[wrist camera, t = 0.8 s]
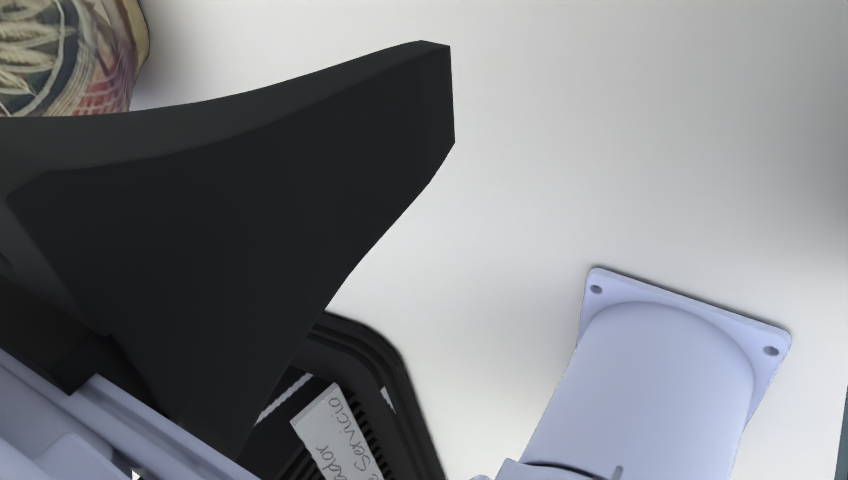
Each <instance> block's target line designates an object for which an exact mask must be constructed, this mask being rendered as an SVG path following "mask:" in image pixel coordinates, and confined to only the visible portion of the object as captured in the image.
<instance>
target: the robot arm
mask: <svg viewBox="0 0 848 480" xmlns="http://www.w3.org/2000/svg"><path fill="white" fill-rule="evenodd" d="M454 143H455V132H454V112H453V93H452V73H451V53H450V46H448V45H443V44H438V43H433V42H428V41H423V40H419V41H414V42H409V43H404V44H400V45H397V46H393V47H390V48H386V49H383V50H380V51H377V52H374V53H371V54H368V55H365V56H362V57H359V58H356V59H353V60H350V61H347V62H344V63H341V64H338V65H335V66H332V67H329V68H326V69H323V70H320V71H317V72H313V73H310V74H307V75H303V76H300V77H297V78H293V79H290V80H287V81H283V82H280V83H277V84H273V85H270V86H267V87H263V88H259V89H256V90H252V91H248V92H243V93H239V94H235V95H230V96H225V97H221V98H216V99H211V100H206V101H201V102H196V103H189V104H182V105H175V106H168V107H161V108H154V109H147V110H140V111H130V112H119V113H108V114H93V115H77V116H36V117H0V480H132V470H133V471H134V472H135V473H137V474H138V475H139V476H141V477H142V478H143V479H145V480H261V479H259V478H258V477H256V476H255V475H253V474H251V473H250V472H248V471H247V470H245V469H244V468H242V467H241V466H239V465H238V464H236V463H235V461H236V460H237V458H238V456H239V454H240V452H241V450H242V448H243V446H244V444H245V442H246V440H247V438H248V436H249V435H250V433H251V431H252V429H253V427H254V425H255V423H256V422H257V420H258V418H259V416H260V414H261V412H262V411H263V409H264V407H265V405H266V403H267V401H268V399H269V398H270V396H271V394H272V392H273V391H274V389H275V387H276V386H277V384H278V382H279V381H280V379H281V377H282V376H283V374H284V372H285V371H286V369H287V367H288V366H289V364H290V362H291V361H292V359H293V357H294V356H295V354H296V352H297V351H298V349H299V348H300V346H301V344H302V343H303V341H304V340H305V338H306V337H307V335H308V334H309V332H310V331H311V329H312V328H313V326H314V325H315V323H316V321H317V320H318V318H319V317H320V315H321V314H322V312H323V311H324V309H325V308H326V307H327V305H328V304H329V302H330V301H331V299H332V298H333V297H334V295H335V294H336V292H337V291H338V290H339V288H340V287H341V285H342V284H343V282H344V281H345V280H346V278H347V277H348V275H349V274H350V273H351V272H352V271H353V269H354V268H355V267H356V266H357V264H358V263H359V262H360V261H361V259H362V258H363V257H364V256H365V255H366V254H367V253H368V252H369V250H370V249H371V248H372V247H373V246H374V245H375V244H376V243H377V242H378V240H379V239H380V238H381V237H382V236H383V235H384V234H385V233H386V231H387V230H388V229H389V228H390V227H391V226H392V225H393V224H394V223H395V221H396V220H397V219H398V218H399V217H400V216H401V215H402V214H403V212H404V211H405V210H406V209H407V208H408V207H409V206H410V205H411V203H412V202H413V201H414V200H415V199H416V198H417V196H418V195H419V194H420V193H421V192H422V191H423V190H424V188H425V187H426V186H427V185H428V184H429V182H430V181H431V180H432V178H433V177H434V175H435V174H436V172H437V171H438V169H439V168H440V166H441V165H442V163H443V161H444V160H445V158H446V157H447V155H448V153H449V152H450V150H451V148H452V147H453V145H454ZM595 285H597V286H599V287H600V288H599V287H597V286H595ZM791 340H792V338H791V336H790V334H789V333H787V332H786V331H784V330H782V329H780V328H777V327H774V326H771V325H768V324H765V323H762V322H759V321H756V320H753V319H750V318H747V317H744V316H741V315H738V314H735V313H732V312H729V311H726V310H723V309H720V308H717V307H715V306H712V305H709V304H706V303H703V302H700V301H697V300H694V299H691V298H688V297H685V296H682V295H679V294H676V293H673V292H670V291H667V290H664V289H661V288H658V287H655V286H652V285H649V284H646V283H643V282H640V281H637V280H634V279H631V278H628V277H625V276H622V275H619V274H616V273H613V272H611V271H608V270H605V269H601V268H593V269H591V270H590V272H589V274H588V276H587V279H586V285H585V292H584V298H583V305H582V311H581V318H580V324H579V331H578V338H577V344H576V350H575V352H574V354H573V356H572V358H571V360H570V362H569V364H568V366H567V368H566V370H565V372H564V374H563V376H562V378H561V380H560V382H559V384H558V386H557V388H556V390H555V392H554V394H553V395H552V397H551V399H550V401H549V403H548V405H547V407H546V409H545V411H544V413H543V415H542V417H541V419H540V421H539V423H538V425H537V427H536V429H535V431H534V433H533V435H532V437H531V439H530V441H529V443H528V444H527V446H526V448H525V450H524V452H523V454H522V456H521V458H520V460H519V462H516V461H514V460H512V459H509V458H506V459H505V461H504V463H503V465H502V467H501V468H500V470H499V472H498V474H497V476H496V478H495V480H730V477H731V473H732V470H733V466H734V462H735V458H736V454H737V450H738V446H739V442H740V438H741V435H742V432H743V431H744V429H745V427H746V425H747V424H748V422H749V420H750V418H751V416H752V415H753V413H754V411H755V409H756V407H757V406H758V404H759V402H760V400H761V398H762V397H763V395H764V393H765V391H766V389H767V388H768V386H769V384H770V382H771V381H772V379H773V377H774V375H775V373H776V372H777V370H778V368H779V366H780V364H781V363H782V361H783V359H784V357H785V355H786V354H787V352H788V350H789V348H790V345H791ZM768 346H770V347H774V348H776V349H774V348H770V347H768ZM470 480H492V479H491V478H489V477H487V476H485V475H478V476H475V477H473V478H471V479H470ZM847 480H848V474H847Z"/></svg>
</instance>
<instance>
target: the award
mask: <svg viewBox="0 0 848 480" xmlns="http://www.w3.org/2000/svg"><path fill="white" fill-rule="evenodd" d="M235 463H236V464H238V465H239V466H241V467H242V468H244V469H245V470H247V471H248V472H250V473H251V474H253V475H255V476H256V477H258V478H259V479H261V480H445V479H444V476H443V474H442V471H441V468H440V465H439V463H438V460H437V457H436V455H435V452H434V449H433V446H432V444H431V441H430V438H429V436H428V433H427V430H426V427H425V425H424V422H423V419H422V417H421V414H420V411H419V408H418V406H417V403H416V400H415V398H414V395H413V392H412V389H411V387H410V384H409V381H408V379H407V376H406V373H405V370H404V368H403V365H402V362H401V361H400V359H399V358H398V356H397V355H396V353H395V352H394V351H393V350H392V349H391V348H390V347H389V346H388V345H387V344H386V343H385V342H384V341H383V340H382V339H381V338H380V337H378V336H377V335H375V334H374V333H372V332H371V331H369V330H367V329H366V328H364V327H362V326H359V325H356V324H354V323H351V322H348V321H345V320H342V319H339V318H336V317H333V316H331V315H328V314H325V313H322V314H321V315H320V317H319V318H318V320H317V321H316V323H315V325H314V326H313V328H312V329H311V331H310V332H309V334H308V335H307V337H306V338H305V340H304V341H303V343H302V344H301V346H300V348H299V349H298V351H297V352H296V354H295V356H294V357H293V359H292V361H291V362H290V364H289V366H288V367H287V369H286V371H285V372H284V374H283V376H282V377H281V379H280V381H279V382H278V384H277V386H276V387H275V389H274V391H273V392H272V394H271V396H270V398H269V399H268V401H267V403H266V405H265V407H264V409H263V411H262V412H261V414H260V416H259V418H258V420H257V422H256V423H255V425H254V427H253V429H252V431H251V433H250V435H249V436H248V438H247V440H246V442H245V444H244V446H243V448H242V450H241V452H240V454H239V456H238V458H237V460H236V461H235ZM138 480H145V479H143V478H142V477H141V476H140V478H139V479H138Z"/></svg>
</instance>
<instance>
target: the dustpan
mask: <svg viewBox="0 0 848 480" xmlns="http://www.w3.org/2000/svg"><path fill="white" fill-rule="evenodd" d="M847 474H848V386H847V393H846V401H845V408H844V415H843V422H842V429H841V436H840V443H839V451H838V458H837V465H836V472H835V479H834V480H847Z"/></svg>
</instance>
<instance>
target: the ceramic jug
mask: <svg viewBox="0 0 848 480" xmlns="http://www.w3.org/2000/svg"><path fill="white" fill-rule="evenodd" d="M148 54H149V32H148V29H147V25H146V22H145V20H144V17H143V14H142V12H141V9H140V7H139V5H138V2H137V0H0V117H36V116H77V115H93V114H108V113H119V112H128V111H129V106H130V101H131V96H132V91H133V87H134V84H135V81H136V78H137V75H138V72H139V69H140V66H141V65H142V64H143V63H144V61H145V60H146V58H147V56H148Z"/></svg>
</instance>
